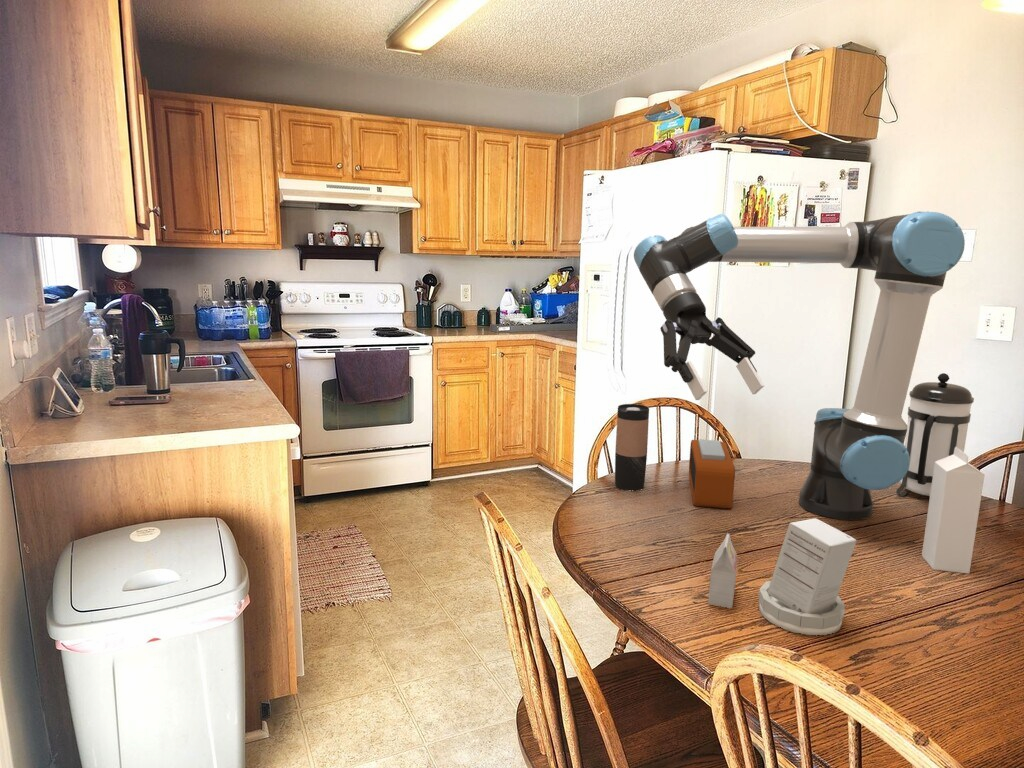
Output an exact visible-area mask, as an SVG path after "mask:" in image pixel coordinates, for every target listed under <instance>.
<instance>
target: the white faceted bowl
mask: <svg viewBox="0 0 1024 768" xmlns="http://www.w3.org/2000/svg"><path fill="white" fill-rule="evenodd" d="M770 583H771V580H767V581H765V582H764V583H763V584H762V585H761V587H760V588H759V590H758V601H759V603H758V605H759V606H758V610H759V612H760V613H761V615H762V616H763V618H764V619H765V620H766V621H768V622H769V623H771V624H773V625H774V624H775V625H774V626H776V627H778V628H780V627H781V628H780V629H782V628H783V630H785V631H788V632H791V633H795V634H798V633H801V634H800V635H803V634H806V635H805V636H811V635H816V636H815V637H818V636H817V635H824V636H828V635H827V634H830V635H833V634H835V633H837V632H838V631H839V630H840V629H841V628H842V623H843V619H844V616H845V609H846V608H845V607H846V605H845V603H844V602H843V600H842V598H841V597H840V596H839V595H838V596H837V599H836V601H835V604H834V607H833V610H832V611H829V612H826V613H823V614H809V613H800V612H797V611H794V610H792V609H790V608H789V607H787V606H786V605H784V604H783V603H781V602H780V601H779V600H777V599H775V598H774V597H773V596H771V595H770V594H769V593H768V589H769V586H770ZM832 633H833V634H832Z"/></svg>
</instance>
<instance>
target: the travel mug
mask: <svg viewBox="0 0 1024 768" xmlns="http://www.w3.org/2000/svg"><path fill="white" fill-rule="evenodd" d="M649 417H650V407H648V406H646V405H644V404H635V403H623V404H620V405H619V404H618V406H617V417H616V434H615V435H616V436H615V448H614V449H615V452H614V453H615V455H614V457H615V458H614V486H615V488H617V489H618V488H619V490H621V489H623V490H622V491H626V490H631V491H630V492H637V491H636V490H639V491H642V490H643V489H644V488H645V482H646V481H645V480H646V469H647V461H648V441H649V439H648V438H649V422H650V421H649ZM641 489H642V490H641ZM632 490H633V491H632Z"/></svg>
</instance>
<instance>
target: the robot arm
mask: <svg viewBox="0 0 1024 768" xmlns="http://www.w3.org/2000/svg"><path fill="white" fill-rule="evenodd" d="M965 242H966V240H965V235H964V232H963V229H962V228H961V226H959V224H958V223H957V222H956V220H955V219H953V218H952V217H950V216H949V215H947V214H944V213H941V212H938V211H937V212H936V211H915V212H912V213H909V214H901V215H894V216H893V215H892V216H889V217H885V218H880V219H875V220H867V221H849V222H847V223H846V224H845V225H844V226H734V225H733V224H732V221H730V219H729V218H728V216H727V215H726V214H723V213H719V214H717V215H715V216H713V217H709V218H708V219H707V220H704V221H702V222H700V223H699V224H696V225H695V226H690V227H686V228H685V229H684V230H683V231H682V232H681V233H680V234H679V235H678V236H676V237H673V238H671V239H669V240H667V238H665V237H664V236H662V235H659V234H656V235H654V236H650V235H649V236H648V237H645V238H644V239H642V240H641V241H640V242H639V243H638V244H637V245H636V247H635V248H634V251H633V259H634V262H635V264H636V266H637V268H638V271H639V272H640V274H641V276H642V278H643V280H644V281H645V283H646V285H647V287H648V289H649V291H650V292H651V295H652V296H653V297H654V299H655V301H656V303H657V304H658V306H659V308H660V310H661V311H662V314H663V317H664V319H665V321H664V323H663V324H662V325H661V326H660V328H659V329H660V331H661V333H662V336H663V337H662V338H663V339H662V341H663V364H664V366H665V367H666V368H671V371H672V372H674V373H677V372H678V373H679V376H680V377H681V379H682V381H683V382H684V383H685V384H686V385H687V386H688V388H689V390H690V392H691V394H692V396H693V398H694V399H695V401H700V400H701V399H702V398H703V397H704V396H705V395H706V394H707V393H708V389H707V387H706V386H705V384H704V382H703V381H702V379H701V377H700V374H699V373H698V371H697V369H696V367H695V365H694V363H693V362H692V361H691V360H690V361H689V360H687V359H688V356H689V352H690V348H691V345H697V344H700V345H702V344H704V345H706V346H709V347H713V348H714V349H716V350H718V352H721V353H722V355H723V354H724V355H725V356H726V357H728V358H730V359H731V360H732V361H733V362H734V363H737V365H736V368H737V370H738V372H739V374H740V375H741V377H742V379H743V380H744V382H745V384H746V386H747V388H748V389H749V390H750V393H751V395H756V394H758V393H759V392H760V391H761V390H762V389H763V388H764V387H765V384H764V382H763V381H762V379H761V377H760V376H759V374H758V371H757V369H756V366H755V365H754V364H753V362H752V360H751V359H752V357H754V355H756V351H755V350H754V349H753V348H752V347H751V346H750V345H749V344H747V343H746V341H744V340H743V339H742V338H741V337H740V336H739V335H737V334H736V333H735V332H734V331H733V330H732V328H730V327H729V326H728V325H727V324H726V323H725V321H724V319H723V318H722V317H717V318H716V319H715V320H711V319H709V318H708V316H707V313H706V312H707V307H706V305H705V304H704V302H703V300H702V299H701V297H700V294H698V293H697V289H696V288H695V286H694V285H693V283H692V281H691V279H690V278H689V276H688V275H687V274H688V273H690V272H692V271H693V270H696V269H698V268H699V267H700V268H701V266H704V265H705V264H708V263H719V262H721V263H722V262H723V263H778V264H779V263H787V264H791V263H793V264H794V263H796V264H797V263H798V264H802V263H803V264H840V265H841V266H842V267H843V268H844V269H860V270H868V271H874V272H875V274H874V279H873V281H874V282H875V284H876V285H877V287H878V288H879V290H880V292H879V296H878V300H877V304H876V307H875V313H874V318H873V322H872V326H871V331H870V334H869V339H868V343H867V348H866V351H865V356H864V360H863V365H862V369H861V374H860V377H859V383H858V386H857V391H856V395H855V399H854V403H853V404H854V405H853V406H852V408H839V407H838V408H836V407H826V408H825V407H824V408H820V409H818V411H817V412H816V413H815V414H816V415H815V420H814V422H813V425H814V430H813V439H812V440H813V441H812V449H811V460H810V468H809V469H810V470H809V473H808V475H807V477H806V479H805V481H804V483H803V485H802V487H801V490H800V491H799V495H798V496H799V497H798V504H799V506H800V507H801V508H803V509H805V510H806V511H808V512H810V513H813V514H815V515H818V516H821V517H826V518H832V519H836V520H845V521H846V520H849V521H857V520H858V521H859V520H865V519H869V518H870V517H872V514H873V510H874V509H873V507H874V502H873V500H872V495H871V491H880V490H886V489H889V488H890V487H892V486H894V485H896V484H898V483H899V482H900V480H901V479H902V478H903V477H904V476H905V475H906V473H907V471H908V468H909V465H910V457H909V453H908V451H907V448H906V447H905V439H906V433H907V428H908V426H907V423H906V422H905V421H904V419H903V417H902V415H903V411H904V406H905V403H906V402H905V401H906V398H907V395H908V392H909V391H908V390H909V386H910V383H911V379H912V374H913V370H914V366H915V362H916V359H917V354H918V350H919V346H920V343H921V338H922V334H923V330H924V326H925V323H926V317H927V314H928V309H929V305H930V300H931V298H932V296H933V295H935V294H936V293H938V292H939V291H941V290H942V289H943V288H944V283H945V280H946V276H947V272H949V271H951V270H952V268H954V267H955V266H957V264H958V263H959V262H960V260H961V259H962V256H963V254H964V251H965V245H966V243H965ZM712 334H713V336H712ZM677 335H679V337H680V338H679V342H678V348H677Z"/></svg>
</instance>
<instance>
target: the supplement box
mask: <svg viewBox="0 0 1024 768" xmlns="http://www.w3.org/2000/svg"><path fill="white" fill-rule="evenodd" d="M856 544H857V539H856V538H854V537H853V536H851V535H848V534H847V533H845V532H843V531H842V530H839V529H838V528H836V527H834V526H832V525H829V524H828V523H825V522H824V521H822V520H820V519H818V518H816V517H815V518H809V519H808V518H807V519H804V520H803V519H802V520H797V521H793V522H789V524H788V526H787V530H786V533H785V536H784V540H783V542H782V545H781V549H780V552H779V554H778V557H777V561H776V565H775V568H774V571H773V573H772V576H771V579H770V581H771V583H770V586H769V589H768V593H769V594H770V595H771V596H773V597H774V598H775V599H777V600H779V601H780V602H781V603H783V604H784V605H786V606H787V607H789V608H790V609H792V610H794V611H797V612H800V613H809V614H823V613H826V612H829V611H832V610H833V607H834V604H835V601H836V599H837V596H839V593H840V590H841V587H842V583H843V581H844V578H845V576H846V572H847V569H848V566H849V563H850V560H851V557H852V554H853V552H854V549H855V547H856Z"/></svg>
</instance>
